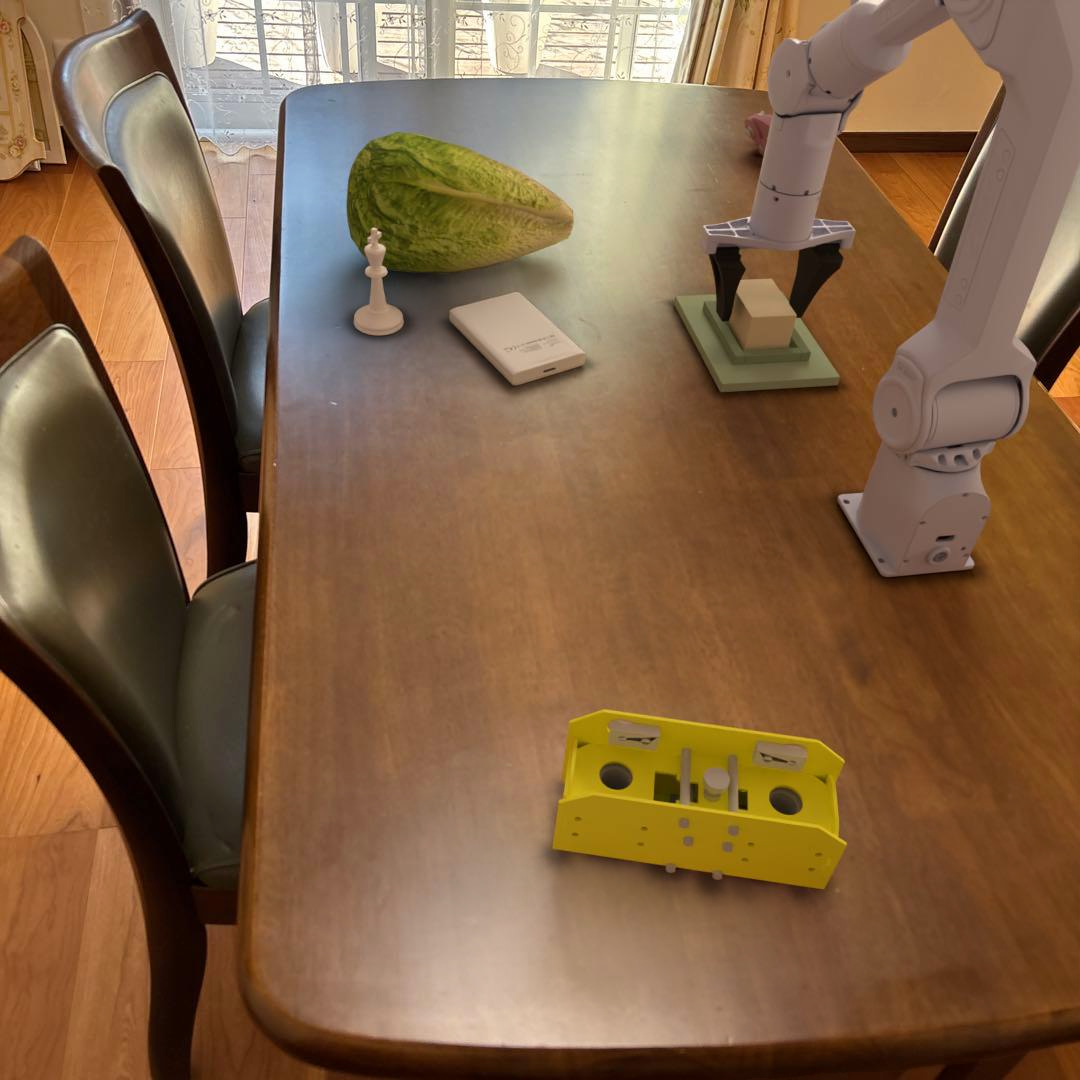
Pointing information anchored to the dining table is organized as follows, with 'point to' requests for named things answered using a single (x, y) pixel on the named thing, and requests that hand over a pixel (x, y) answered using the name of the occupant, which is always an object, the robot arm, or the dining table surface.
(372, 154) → the lettuce
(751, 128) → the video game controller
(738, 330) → the tan rectangular block
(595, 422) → the dining table surface
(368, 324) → the chess piece
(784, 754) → the yellow toy chassis
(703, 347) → the base mat
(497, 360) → the hard drive
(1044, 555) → the dining table surface
